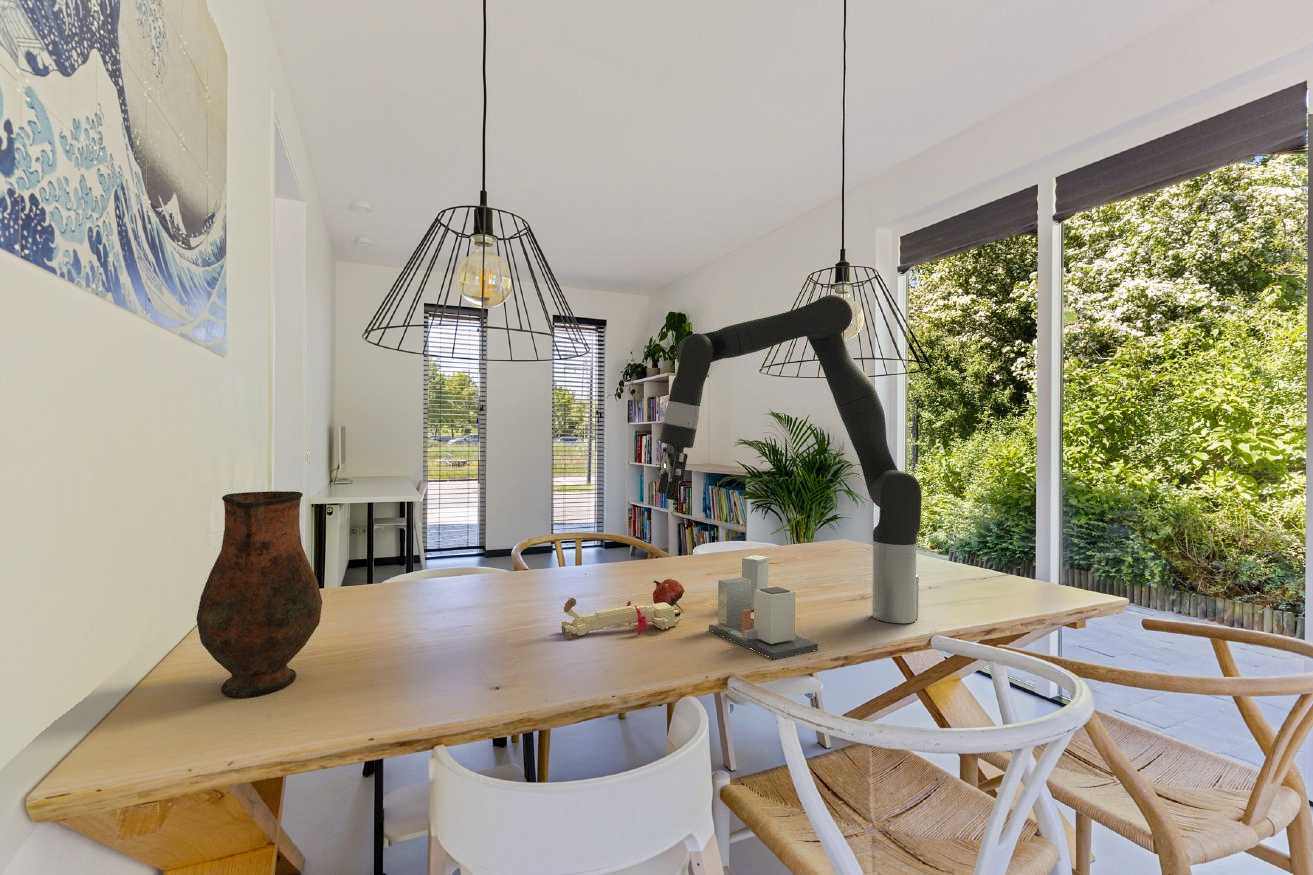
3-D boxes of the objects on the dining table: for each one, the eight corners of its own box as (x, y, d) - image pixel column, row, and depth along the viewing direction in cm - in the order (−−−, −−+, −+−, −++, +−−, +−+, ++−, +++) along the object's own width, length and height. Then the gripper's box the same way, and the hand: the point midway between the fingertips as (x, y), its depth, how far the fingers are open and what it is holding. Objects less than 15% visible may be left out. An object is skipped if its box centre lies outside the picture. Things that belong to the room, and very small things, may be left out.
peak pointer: (747, 634, 122) (748, 609, 122) (750, 636, 121) (750, 610, 121) (742, 635, 121) (742, 610, 121) (744, 637, 121) (745, 611, 121)
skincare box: (756, 611, 145) (757, 560, 145) (740, 608, 148) (741, 557, 148) (768, 606, 150) (769, 556, 150) (753, 603, 153) (753, 554, 153)
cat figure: (570, 651, 120) (689, 628, 129) (567, 606, 120) (687, 586, 129) (560, 636, 130) (672, 616, 138) (557, 594, 129) (669, 577, 138)
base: (750, 623, 136) (750, 576, 136) (817, 650, 118) (818, 596, 118) (708, 630, 130) (709, 581, 130) (773, 659, 113) (773, 602, 113)
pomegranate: (686, 616, 148) (660, 586, 153) (700, 596, 145) (672, 565, 150) (666, 626, 143) (639, 594, 148) (679, 605, 139) (651, 573, 144)
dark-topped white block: (777, 632, 124) (777, 585, 124) (795, 639, 120) (795, 590, 120) (743, 638, 120) (744, 590, 120) (760, 645, 116) (761, 595, 116)
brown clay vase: (171, 711, 88) (176, 498, 88) (232, 660, 109) (236, 487, 109) (302, 700, 92) (306, 497, 92) (337, 653, 113) (340, 487, 113)
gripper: (705, 429, 132) (690, 504, 132) (688, 425, 146) (675, 493, 146) (670, 422, 130) (656, 498, 131) (657, 419, 144) (644, 488, 145)
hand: (666, 496), depth 138 cm, fingers open, 8 cm apart
